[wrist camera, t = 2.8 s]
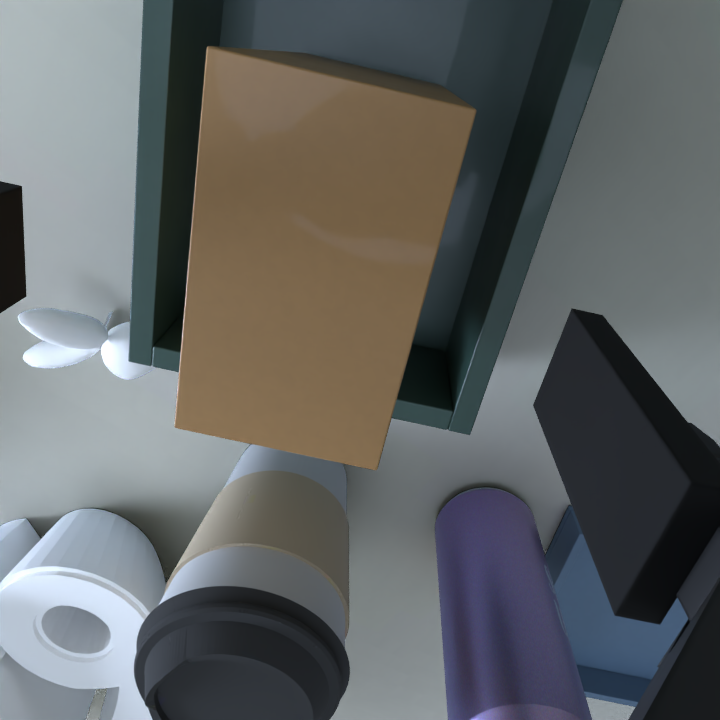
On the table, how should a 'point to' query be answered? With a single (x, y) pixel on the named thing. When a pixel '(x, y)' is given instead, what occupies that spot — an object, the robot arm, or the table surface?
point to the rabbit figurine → (78, 341)
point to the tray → (604, 624)
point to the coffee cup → (256, 600)
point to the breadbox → (475, 181)
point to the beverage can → (501, 615)
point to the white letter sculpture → (74, 616)
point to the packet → (311, 248)
